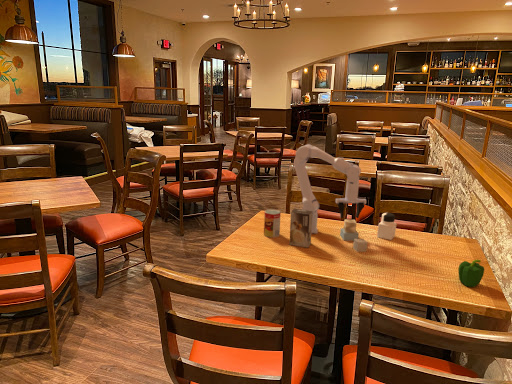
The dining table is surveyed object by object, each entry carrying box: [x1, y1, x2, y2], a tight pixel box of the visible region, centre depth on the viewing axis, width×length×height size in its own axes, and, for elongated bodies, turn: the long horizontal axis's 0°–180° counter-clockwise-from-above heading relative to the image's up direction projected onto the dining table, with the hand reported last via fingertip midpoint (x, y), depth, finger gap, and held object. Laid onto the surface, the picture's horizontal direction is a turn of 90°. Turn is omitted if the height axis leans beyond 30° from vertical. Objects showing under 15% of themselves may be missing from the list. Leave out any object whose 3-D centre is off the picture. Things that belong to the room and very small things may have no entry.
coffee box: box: [289, 208, 312, 248], centre depth 172 cm, size 9×6×16 cm
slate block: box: [339, 227, 360, 242], centre depth 183 cm, size 7×7×4 cm
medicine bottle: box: [376, 212, 397, 241], centre depth 185 cm, size 7×7×12 cm
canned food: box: [263, 208, 281, 238], centre depth 184 cm, size 8×8×12 cm
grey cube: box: [352, 238, 368, 253], centre depth 169 cm, size 4×4×4 cm
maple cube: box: [343, 218, 357, 233], centre depth 182 cm, size 5×5×5 cm
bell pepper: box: [457, 259, 485, 288], centre depth 139 cm, size 8×8×10 cm
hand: (349, 217), depth 182 cm, fingers open, 7 cm apart
